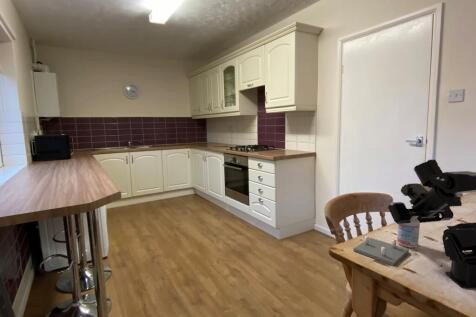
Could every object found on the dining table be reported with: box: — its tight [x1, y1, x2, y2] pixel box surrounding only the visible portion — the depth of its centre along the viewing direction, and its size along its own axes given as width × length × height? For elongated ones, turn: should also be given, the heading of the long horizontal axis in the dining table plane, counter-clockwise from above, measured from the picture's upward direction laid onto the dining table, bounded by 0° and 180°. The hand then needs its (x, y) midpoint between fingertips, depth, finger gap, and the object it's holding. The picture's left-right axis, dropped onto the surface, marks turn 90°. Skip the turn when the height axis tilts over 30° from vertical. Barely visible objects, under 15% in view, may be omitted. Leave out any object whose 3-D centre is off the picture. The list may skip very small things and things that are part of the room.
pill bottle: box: [396, 216, 421, 249], centre depth 91 cm, size 6×6×11 cm
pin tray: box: [352, 235, 410, 267], centre depth 87 cm, size 12×12×4 cm
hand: (405, 222), depth 92 cm, fingers closed on pill bottle, 6 cm apart
